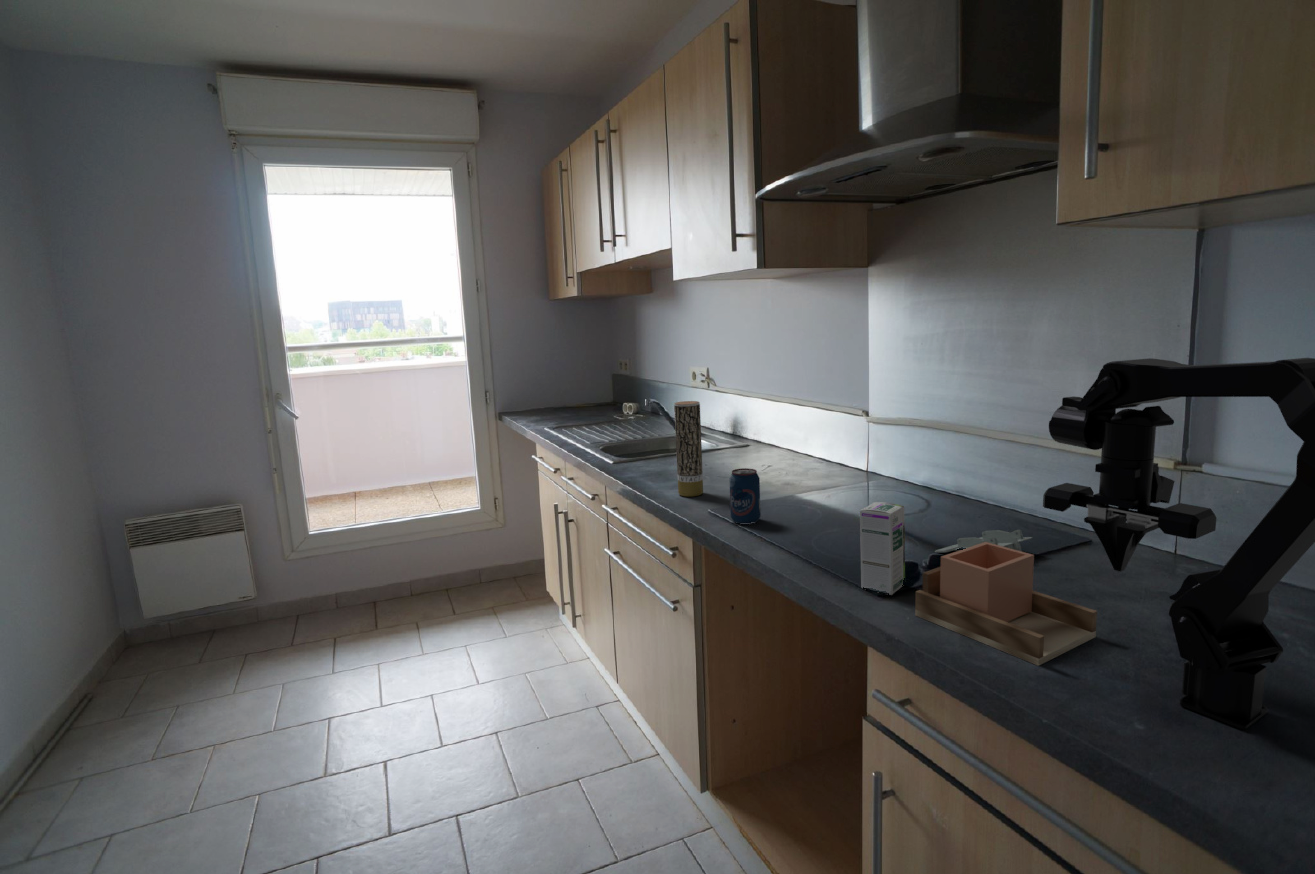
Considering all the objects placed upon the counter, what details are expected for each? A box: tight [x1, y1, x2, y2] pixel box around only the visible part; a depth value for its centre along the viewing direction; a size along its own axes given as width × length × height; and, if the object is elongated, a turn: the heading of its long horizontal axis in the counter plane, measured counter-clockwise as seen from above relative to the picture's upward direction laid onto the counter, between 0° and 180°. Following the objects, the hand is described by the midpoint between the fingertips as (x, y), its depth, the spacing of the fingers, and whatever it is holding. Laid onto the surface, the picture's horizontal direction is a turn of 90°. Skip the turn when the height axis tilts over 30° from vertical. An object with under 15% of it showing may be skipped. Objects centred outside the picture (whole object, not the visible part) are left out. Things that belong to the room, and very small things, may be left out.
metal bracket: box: [934, 529, 1033, 553], centre depth 138 cm, size 14×6×15 cm
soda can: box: [729, 468, 761, 523], centre depth 165 cm, size 7×7×12 cm
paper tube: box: [673, 400, 704, 498], centre depth 190 cm, size 7×7×25 cm
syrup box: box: [859, 501, 906, 596], centre depth 122 cm, size 6×6×14 cm
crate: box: [940, 542, 1035, 622], centre depth 108 cm, size 8×11×9 cm
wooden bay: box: [914, 566, 1098, 666], centre depth 106 cm, size 20×14×7 cm
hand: (1119, 570), depth 95 cm, fingers closed
